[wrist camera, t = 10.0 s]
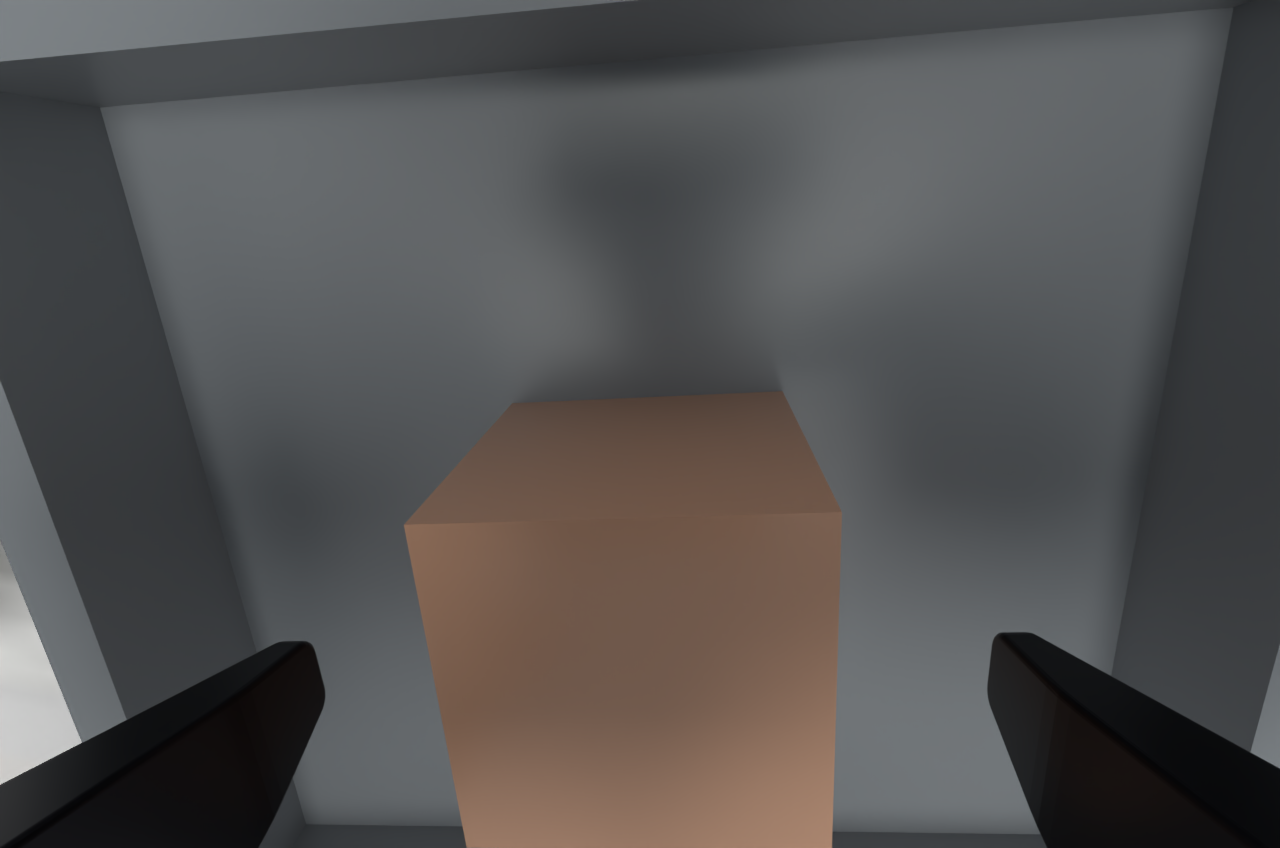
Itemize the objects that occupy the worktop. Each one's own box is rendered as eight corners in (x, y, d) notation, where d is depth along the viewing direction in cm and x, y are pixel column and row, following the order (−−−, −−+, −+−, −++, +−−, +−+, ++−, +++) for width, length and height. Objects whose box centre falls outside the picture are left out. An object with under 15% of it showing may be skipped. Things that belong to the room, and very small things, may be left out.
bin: (294, 825, 17) (185, 998, 14) (67, 56, 12) (-223, -12, 8) (1102, 837, 16) (1232, 1038, 12) (1277, -60, 10) (1626, -217, 6)
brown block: (542, 630, 14) (466, 847, 9) (512, 403, 13) (403, 525, 8) (782, 627, 14) (831, 853, 9) (782, 391, 12) (841, 512, 7)
